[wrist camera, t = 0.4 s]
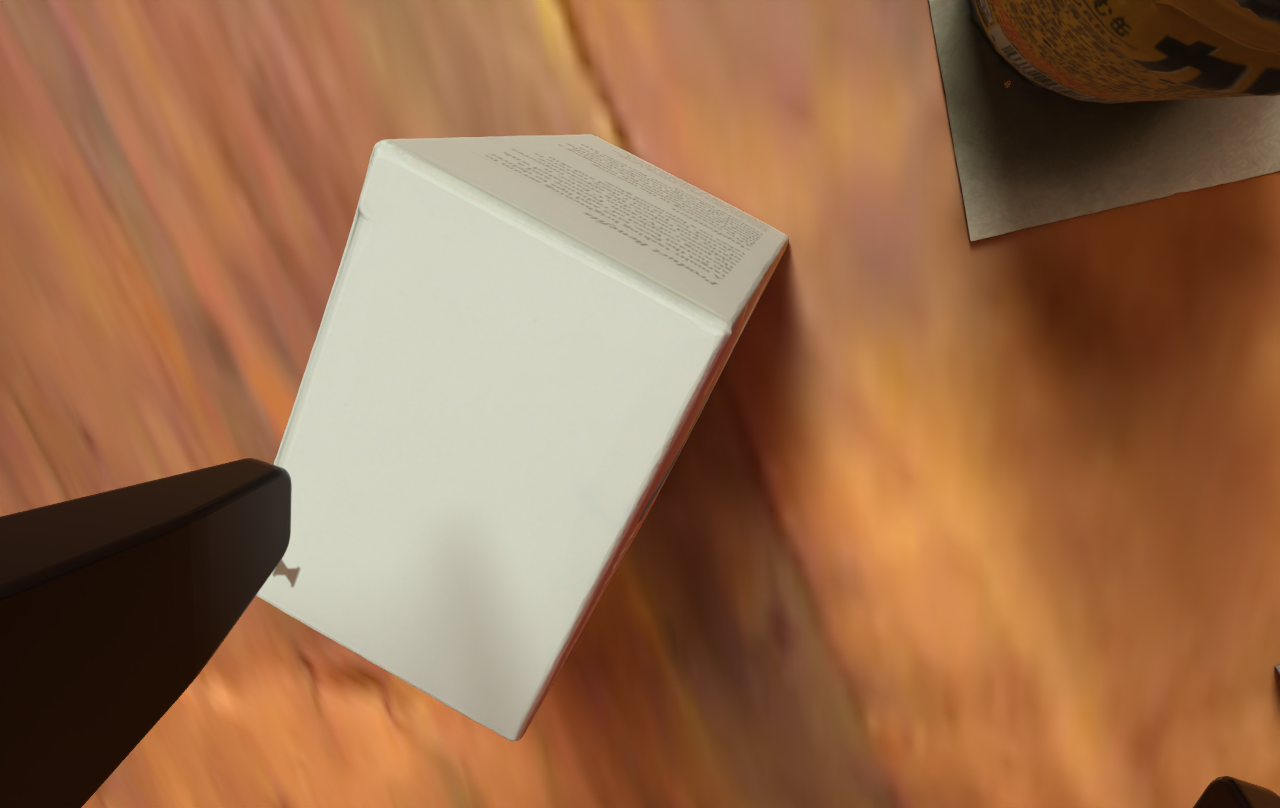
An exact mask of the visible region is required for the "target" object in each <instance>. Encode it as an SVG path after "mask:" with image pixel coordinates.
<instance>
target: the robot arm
mask: <svg viewBox="0 0 1280 808" xmlns="http://www.w3.org/2000/svg"><path fill="white" fill-rule="evenodd" d="M291 493H292V484H291V477H290V475H289V473H288V472H287V471H286V470H285V469H284V468H282V467H279V466H276V465H273V464H270V463H267V462H264V461H261V460H258V459H253V458H247V459H242V460H238V461H233V462H229V463H225V464H221V465H217V466H212V467H208V468H204V469H200V470H196V471H191V472H187V473H183V474H179V475H174V476H170V477H166V478H162V479H158V480H153V481H149V482H145V483H141V484H137V485H132V486H128V487H124V488H120V489H116V490H111V491H107V492H103V493H99V494H94V495H90V496H86V497H82V498H78V499H73V500H69V501H65V502H61V503H57V504H52V505H48V506H44V507H40V508H36V509H31V510H27V511H23V512H19V513H14V514H10V515H6V516H2V517H0V808H81V807H82V806H83V805H84V804H85V803H86V802H87V801H88V799H89V798H90V797H91V796H92V795H93V794H94V793H95V792H96V790H97V789H98V788H99V787H100V786H101V785H102V784H103V783H104V781H105V780H106V779H107V778H108V777H109V776H110V775H111V774H112V772H113V771H114V770H115V769H116V768H117V767H118V766H119V765H120V763H121V762H122V761H123V760H124V759H125V758H126V757H127V756H128V754H129V753H130V752H131V751H132V750H133V749H134V748H135V747H136V745H137V744H138V743H139V742H140V741H141V740H142V739H143V738H144V736H145V735H146V734H147V733H148V732H149V731H150V730H151V729H152V727H153V726H154V725H155V724H156V723H157V722H158V721H159V720H160V718H161V717H162V716H163V715H164V714H165V713H166V712H167V711H168V709H169V708H170V707H171V706H172V705H173V704H174V703H175V701H176V700H177V699H178V698H179V697H180V696H181V695H182V693H183V692H184V691H185V690H186V689H187V688H188V686H189V685H190V684H191V683H192V682H193V681H194V679H195V678H196V677H197V676H198V674H199V673H200V672H201V670H202V669H203V668H204V667H205V665H206V664H207V663H208V661H209V660H210V659H211V657H212V656H213V655H214V653H215V652H216V650H217V649H218V648H219V646H220V645H221V643H222V642H223V641H224V639H225V638H226V636H227V635H228V634H229V632H230V631H231V630H232V628H233V627H234V625H235V624H236V623H237V621H238V620H239V618H240V617H241V616H242V614H243V613H244V611H245V610H246V609H247V607H248V606H249V604H250V603H251V602H252V600H253V599H254V597H255V596H256V595H257V593H258V592H259V590H260V589H261V588H262V586H263V585H264V583H265V582H266V581H267V579H268V578H269V576H270V575H271V574H272V572H273V571H274V569H275V568H276V567H277V565H278V564H279V563H280V561H281V560H282V558H283V556H284V554H285V552H286V550H287V548H288V545H289V541H290V535H291ZM1193 808H1280V797H1279V796H1278V795H1277V794H1276V793H1274V792H1272V791H1271V790H1269V789H1266V788H1264V787H1260V786H1257V785H1254V784H1251V783H1248V782H1245V781H1242V780H1239V779H1236V778H1233V777H1229V776H1223V777H1218V778H1216V779H1215V780H1213V781H1212V782H1211V783H1210V784H1209V785H1208V786H1207V788H1206V789H1205V791H1204V792H1203V794H1202V795H1201V797H1200V798H1199V800H1198V801H1197V802H1196V804H1195V805H1194V807H1193Z"/></svg>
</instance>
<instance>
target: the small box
mask: <svg viewBox="0 0 1280 808" xmlns="http://www.w3.org/2000/svg"><path fill="white" fill-rule="evenodd" d="M788 242H789V237H788V236H787V235H786V234H784V233H782V232H781V231H779V230H777V229H775V228H774V227H772V226H770V225H768V224H766V223H764V222H762V221H761V220H759V219H757V218H755V217H753V216H751V215H749V214H747V213H746V212H744V211H742V210H740V209H738V208H736V207H734V206H732V205H730V204H728V203H726V202H724V201H723V200H721V199H719V198H717V197H715V196H713V195H711V194H709V193H707V192H705V191H703V190H701V189H699V188H697V187H695V186H693V185H691V184H689V183H687V182H685V181H683V180H682V179H680V178H678V177H676V176H674V175H672V174H670V173H668V172H666V171H664V170H662V169H660V168H658V167H656V166H654V165H652V164H650V163H648V162H647V161H645V160H643V159H641V158H639V157H637V156H635V155H633V154H631V153H629V152H627V151H625V150H623V149H621V148H619V147H617V146H615V145H613V144H610V143H608V142H606V141H604V140H602V139H601V138H599V137H597V136H594V135H592V134H587V135H543V136H500V137H457V138H425V139H387V140H381V141H380V142H378V143H376V144H375V146H374V149H373V152H372V155H371V158H370V162H369V166H368V170H367V174H366V178H365V181H364V185H363V188H362V191H361V195H360V199H359V203H358V206H357V210H356V214H355V218H354V221H353V225H352V228H351V231H350V235H349V238H348V241H347V244H346V248H345V251H344V254H343V257H342V260H341V264H340V267H339V270H338V273H337V276H336V279H335V282H334V285H333V288H332V291H331V294H330V297H329V300H328V303H327V306H326V310H325V313H324V316H323V319H322V322H321V325H320V328H319V331H318V335H317V338H316V341H315V343H314V346H313V349H312V352H311V355H310V358H309V361H308V364H307V367H306V370H305V373H304V376H303V379H302V382H301V385H300V388H299V391H298V394H297V397H296V400H295V403H294V406H293V409H292V412H291V415H290V418H289V421H288V424H287V427H286V430H285V432H284V435H283V438H282V441H281V444H280V447H279V451H278V454H277V456H276V459H275V462H274V464H273V465H276V466H279V467H282V468H284V469H285V470H286V471H287V472H288V473H289V475H290V477H291V484H292V493H291V535H290V541H289V545H288V548H287V550H286V552H285V554H284V556H283V558H282V560H281V561H280V563H279V564H278V565H277V567H276V568H275V569H274V571H273V572H272V574H271V575H270V576H269V578H268V579H267V581H266V582H265V583H264V585H263V586H262V588H261V589H260V590H259V592H258V593H257V595H256V596H258V597H259V598H261V599H263V600H265V601H266V602H268V603H270V604H272V605H273V606H275V607H276V608H278V609H280V610H281V611H283V612H285V613H286V614H288V615H290V616H292V617H293V618H295V619H297V620H299V621H301V622H302V623H304V624H306V625H307V626H309V627H311V628H313V629H314V630H316V631H318V632H319V633H321V634H323V635H325V636H326V637H328V638H330V639H332V640H334V641H335V642H337V643H339V644H341V645H342V646H344V647H346V648H348V649H349V650H351V651H353V652H355V653H356V654H358V655H360V656H362V657H363V658H365V659H367V660H368V661H370V662H372V663H374V664H375V665H377V666H379V667H381V668H382V669H384V670H386V671H388V672H390V673H391V674H393V675H395V676H397V677H398V678H400V679H402V680H404V681H405V682H407V683H409V684H410V685H412V686H414V687H416V688H417V689H419V690H421V691H423V692H424V693H426V694H428V695H429V696H431V697H433V698H435V699H436V700H438V701H440V702H442V703H443V704H445V705H447V706H448V707H450V708H452V709H454V710H456V711H458V712H460V713H461V714H463V715H465V716H466V717H468V718H470V719H472V720H473V721H475V722H477V723H479V724H481V725H483V726H485V727H487V728H489V729H491V730H493V731H495V732H496V733H498V734H499V735H501V736H502V737H504V738H505V739H508V740H510V741H518V740H519V739H521V738H522V736H523V735H524V733H525V731H526V730H527V728H528V726H529V724H530V722H531V721H532V719H533V717H534V715H535V713H536V712H537V710H538V708H539V706H540V705H541V703H542V701H543V699H544V698H545V696H546V694H547V692H548V691H549V689H550V687H551V685H552V684H553V682H554V680H555V678H556V677H557V675H558V673H559V671H560V670H561V668H562V666H563V664H564V663H565V661H566V659H567V657H568V656H569V654H570V652H571V650H572V649H573V647H574V645H575V643H576V642H577V640H578V638H579V636H580V635H581V633H582V631H583V629H584V628H585V626H586V624H587V622H588V620H589V619H590V617H591V615H592V613H593V612H594V610H595V608H596V606H597V604H598V603H599V601H600V599H601V597H602V595H603V594H604V592H605V590H606V588H607V587H608V585H609V583H610V581H611V579H612V578H613V576H614V574H615V572H616V571H617V569H618V567H619V565H620V563H621V561H622V560H623V558H624V556H625V554H626V552H627V551H628V549H629V547H630V545H631V543H632V542H633V540H634V538H635V536H636V534H637V532H638V531H639V529H640V527H641V525H642V523H643V522H644V520H645V518H646V516H647V514H648V512H649V511H650V509H651V507H652V505H653V503H654V502H655V500H656V498H657V496H658V494H659V492H660V490H661V488H662V486H663V485H664V483H665V481H666V479H667V477H668V475H669V473H670V471H671V469H672V467H673V466H674V464H675V462H676V460H677V458H678V456H679V454H680V452H681V450H682V449H683V447H684V445H685V443H686V441H687V439H688V437H689V435H690V433H691V431H692V429H693V428H694V426H695V424H696V422H697V420H698V418H699V416H700V414H701V412H702V410H703V408H704V406H705V404H706V402H707V400H708V398H709V396H710V394H711V392H712V390H713V388H714V386H715V384H716V382H717V380H718V378H719V376H720V374H721V372H722V370H723V368H724V367H725V365H726V363H727V361H728V359H729V357H730V355H731V353H732V351H733V349H734V347H735V345H736V343H737V341H738V339H739V337H740V335H741V334H742V332H743V330H744V328H745V326H746V324H747V322H748V320H749V318H750V316H751V314H752V312H753V311H754V309H755V307H756V305H757V303H758V301H759V299H760V297H761V295H762V293H763V291H764V290H765V288H766V286H767V284H768V282H769V280H770V278H771V276H772V274H773V273H774V271H775V269H776V267H777V265H778V263H779V261H780V259H781V257H782V256H783V254H784V252H785V250H786V248H787V245H788Z"/></svg>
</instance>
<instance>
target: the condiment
mask: <svg viewBox="0 0 1280 808" xmlns="http://www.w3.org/2000/svg"><path fill="white" fill-rule="evenodd" d="M929 4H930V10H931V17H932V23H933V28H934V33H935V39H936V44H937V53H938V57H939V62H940V67H941V72H942V78H943V83H944V89H945V93H946V102H947V108H948V114H949V119H950V126H951V131H952V137H953V143H954V151H955V156H956V160H957V166H958V171H959V177H960V182H961V187H962V192H963V199H964V205H965V211H966V217H967V223H968V228H969V234H970V240H971V241H975V240H979V239H984V238H988V237H992V236H997V235H1001V234H1005V233H1008V232H1012V231H1016V230H1020V229H1025V228H1030V227H1034V226H1038V225H1043V224H1047V223H1051V222H1056V221H1060V220H1064V219H1069V218H1074V217H1077V216H1081V215H1087V214H1091V213H1096V212H1099V211H1103V210H1108V209H1112V208H1116V207H1121V206H1126V205H1130V204H1135V203H1139V202H1144V201H1148V200H1153V199H1157V198H1162V197H1166V196H1170V195H1173V194H1174V193H1177V192H1188V191H1193V190H1197V189H1202V188H1207V187H1212V186H1216V185H1219V184H1225V183H1230V182H1235V181H1239V180H1243V179H1247V178H1251V177H1256V176H1260V175H1264V174H1269V173H1273V172H1277V171H1280V0H929ZM1008 80H1010V81H1011V85H1010V87H1009V88H1006V87H1005V85H1004V82H1006V81H1008Z"/></svg>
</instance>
